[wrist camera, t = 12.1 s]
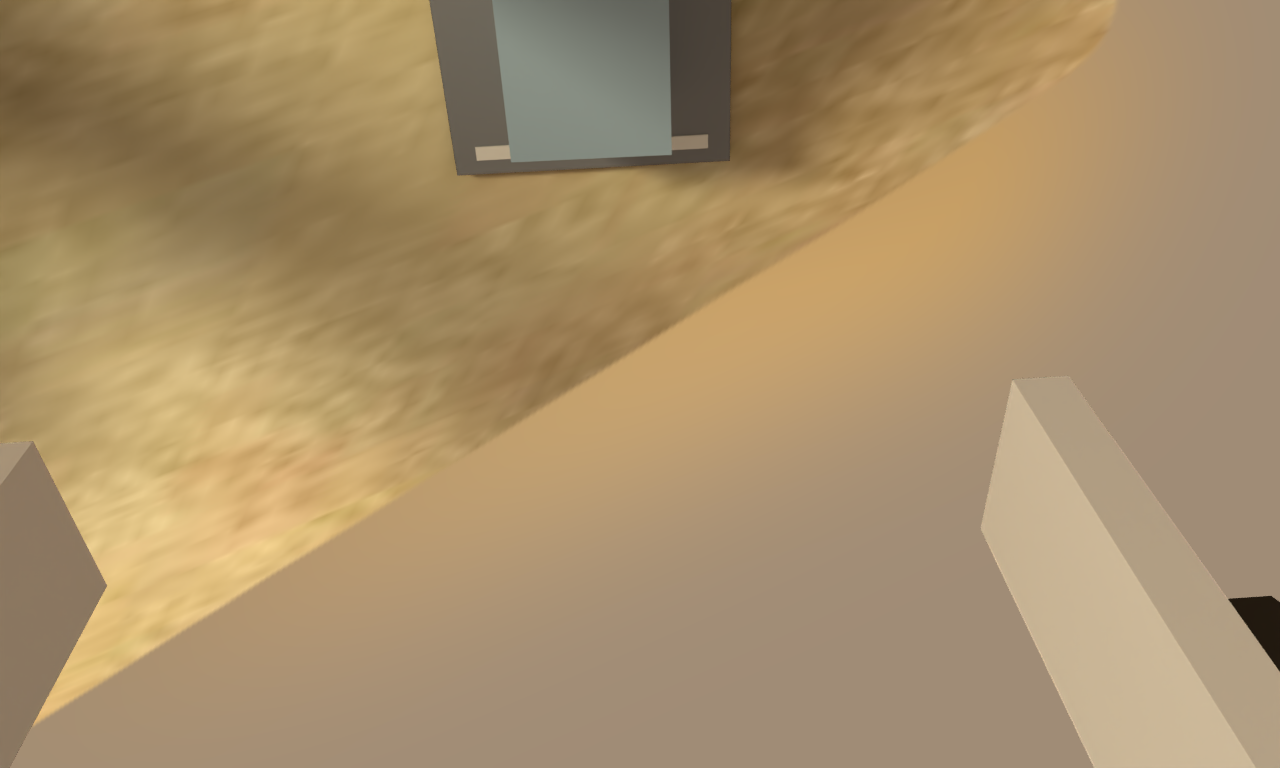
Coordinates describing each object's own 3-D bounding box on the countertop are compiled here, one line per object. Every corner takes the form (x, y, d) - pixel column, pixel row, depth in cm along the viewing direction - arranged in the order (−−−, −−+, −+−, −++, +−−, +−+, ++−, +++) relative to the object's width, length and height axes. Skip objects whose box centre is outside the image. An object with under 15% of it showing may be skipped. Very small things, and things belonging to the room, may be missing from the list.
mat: (459, 169, 36) (457, 176, 36) (411, -133, 31) (408, -130, 30) (727, 154, 36) (729, 161, 36) (730, -150, 31) (732, -147, 30)
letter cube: (505, -44, 32) (491, -7, 28) (659, -51, 32) (668, -14, 28) (522, 111, 35) (511, 166, 31) (663, 104, 35) (671, 159, 31)
